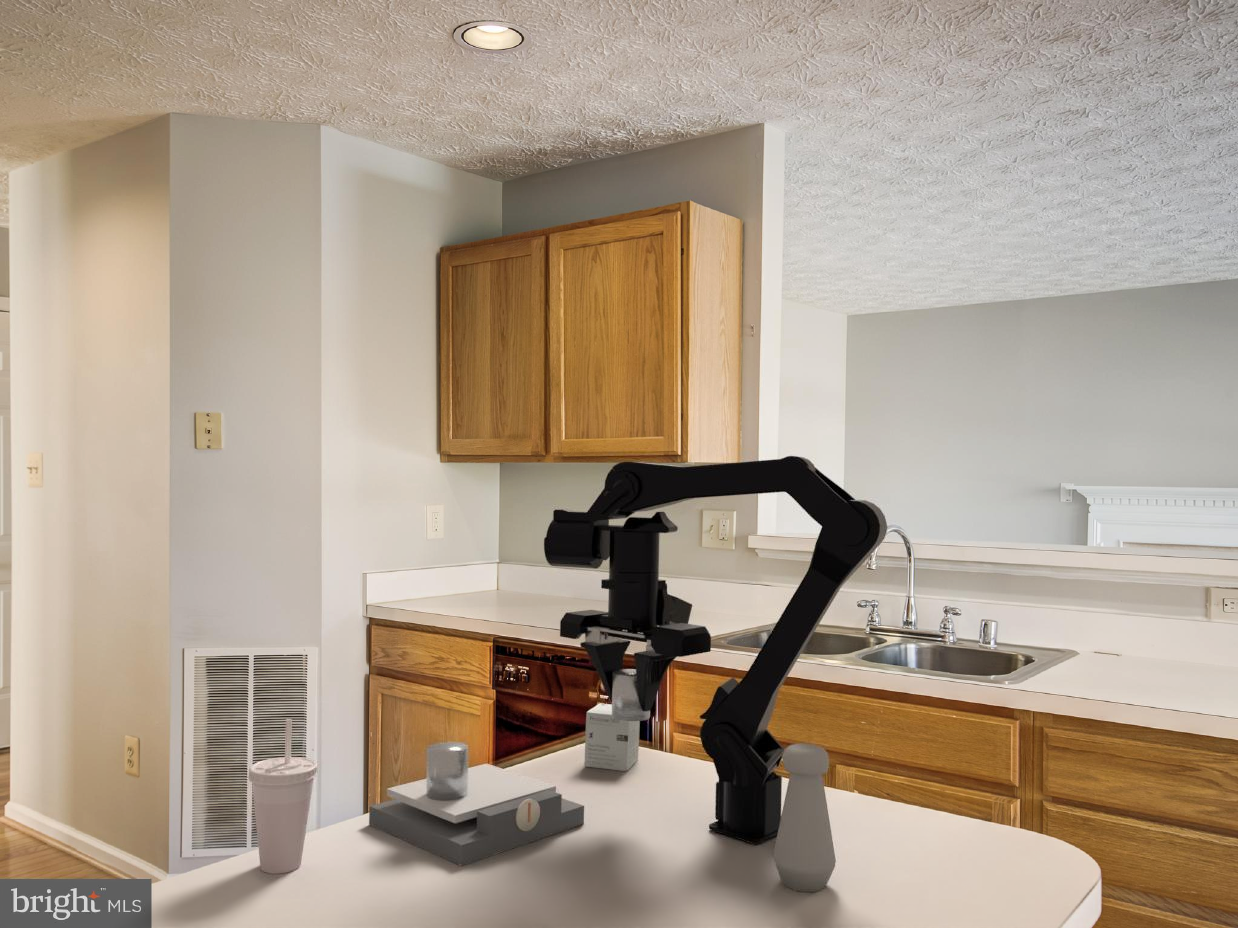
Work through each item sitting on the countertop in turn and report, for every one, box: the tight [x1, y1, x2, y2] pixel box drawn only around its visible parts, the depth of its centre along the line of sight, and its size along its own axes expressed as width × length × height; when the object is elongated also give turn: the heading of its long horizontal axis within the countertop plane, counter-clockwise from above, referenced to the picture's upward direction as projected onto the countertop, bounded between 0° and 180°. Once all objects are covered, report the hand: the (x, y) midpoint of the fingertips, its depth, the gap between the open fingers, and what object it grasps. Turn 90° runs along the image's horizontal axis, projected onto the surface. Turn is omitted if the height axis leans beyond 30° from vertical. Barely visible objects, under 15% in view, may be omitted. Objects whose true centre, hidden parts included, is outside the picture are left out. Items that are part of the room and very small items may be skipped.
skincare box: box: [583, 702, 641, 772], centre depth 133 cm, size 6×6×7 cm
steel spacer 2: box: [611, 668, 651, 722], centre depth 114 cm, size 4×4×5 cm
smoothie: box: [247, 718, 318, 875], centre depth 96 cm, size 6×6×14 cm
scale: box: [368, 763, 585, 867], centre depth 109 cm, size 16×17×5 cm
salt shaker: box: [773, 742, 837, 893], centre depth 95 cm, size 6×6×13 cm
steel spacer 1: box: [426, 741, 469, 801], centre depth 107 cm, size 4×4×5 cm
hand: (631, 707), depth 114 cm, fingers closed on steel spacer 2, 4 cm apart
